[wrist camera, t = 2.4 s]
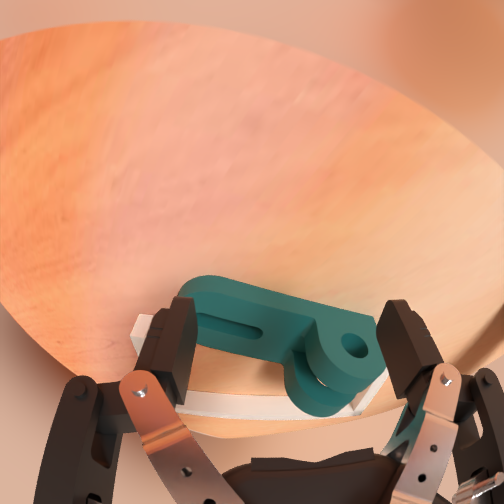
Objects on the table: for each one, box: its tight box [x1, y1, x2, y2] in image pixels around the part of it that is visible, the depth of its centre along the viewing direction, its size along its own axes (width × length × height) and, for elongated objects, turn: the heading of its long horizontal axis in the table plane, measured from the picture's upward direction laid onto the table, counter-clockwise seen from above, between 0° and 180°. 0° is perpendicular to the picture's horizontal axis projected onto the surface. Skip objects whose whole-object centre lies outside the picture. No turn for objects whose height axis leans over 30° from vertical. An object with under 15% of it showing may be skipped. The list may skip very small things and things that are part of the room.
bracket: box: [178, 275, 386, 417], centre depth 22 cm, size 18×7×8 cm, turn 72°
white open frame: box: [130, 314, 389, 420], centre depth 28 cm, size 26×16×3 cm, turn 89°
